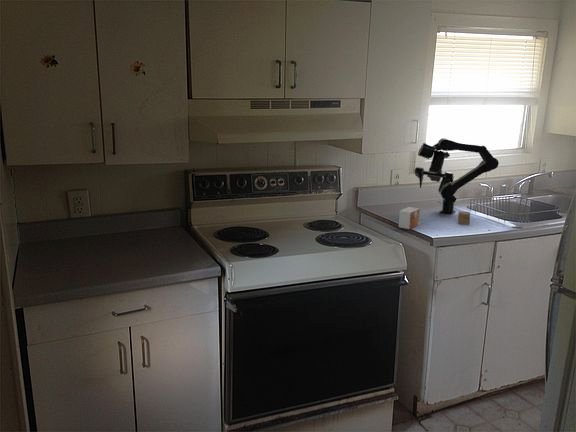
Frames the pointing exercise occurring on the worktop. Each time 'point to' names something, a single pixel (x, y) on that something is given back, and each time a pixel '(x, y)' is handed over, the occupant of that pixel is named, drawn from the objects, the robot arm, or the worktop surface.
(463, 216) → the walnut block
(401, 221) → the small box
